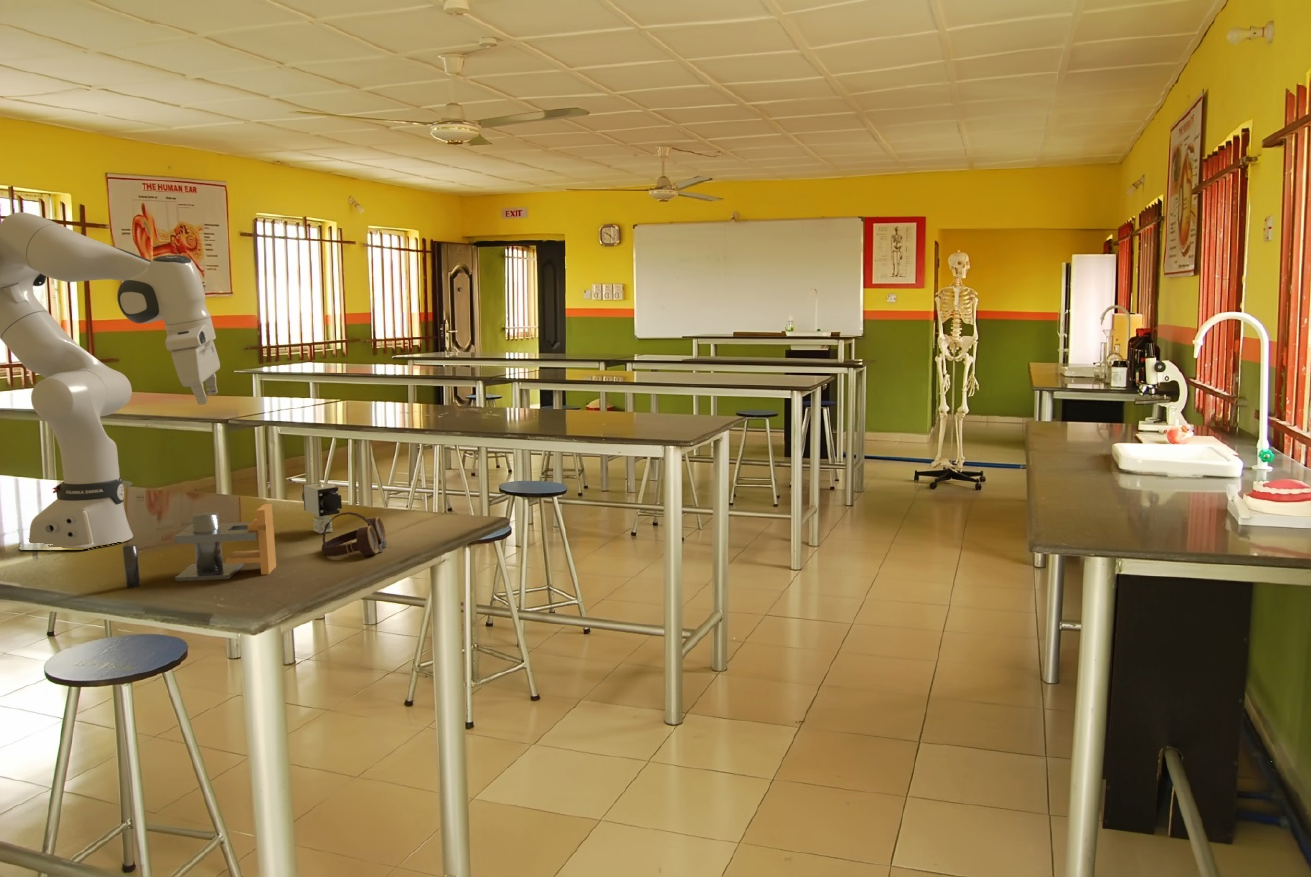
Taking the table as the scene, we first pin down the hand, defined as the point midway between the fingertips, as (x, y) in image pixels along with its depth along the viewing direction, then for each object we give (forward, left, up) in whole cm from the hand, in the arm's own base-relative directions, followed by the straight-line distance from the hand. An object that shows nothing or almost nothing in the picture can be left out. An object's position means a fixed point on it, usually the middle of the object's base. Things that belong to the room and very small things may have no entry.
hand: (208, 399), depth 210 cm
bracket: (+10, -15, -34) cm, 38 cm away
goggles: (+28, -2, -34) cm, 44 cm away
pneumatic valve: (+18, +18, -34) cm, 42 cm away
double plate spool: (+5, -15, -34) cm, 37 cm away
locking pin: (-10, -22, -34) cm, 41 cm away
